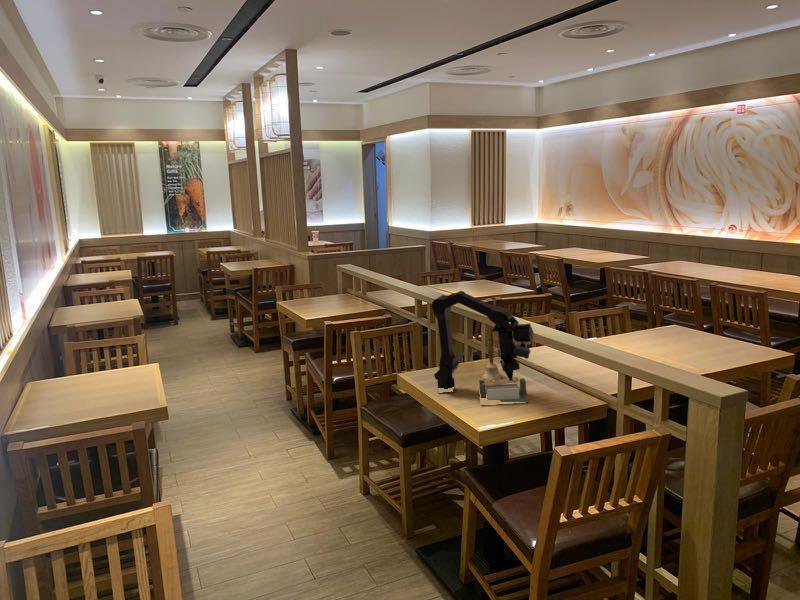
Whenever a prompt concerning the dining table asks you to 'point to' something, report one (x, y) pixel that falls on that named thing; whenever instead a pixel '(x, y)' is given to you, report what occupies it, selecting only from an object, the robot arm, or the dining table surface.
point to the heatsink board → (505, 392)
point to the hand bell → (491, 366)
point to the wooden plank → (500, 382)
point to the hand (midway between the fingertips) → (510, 379)
